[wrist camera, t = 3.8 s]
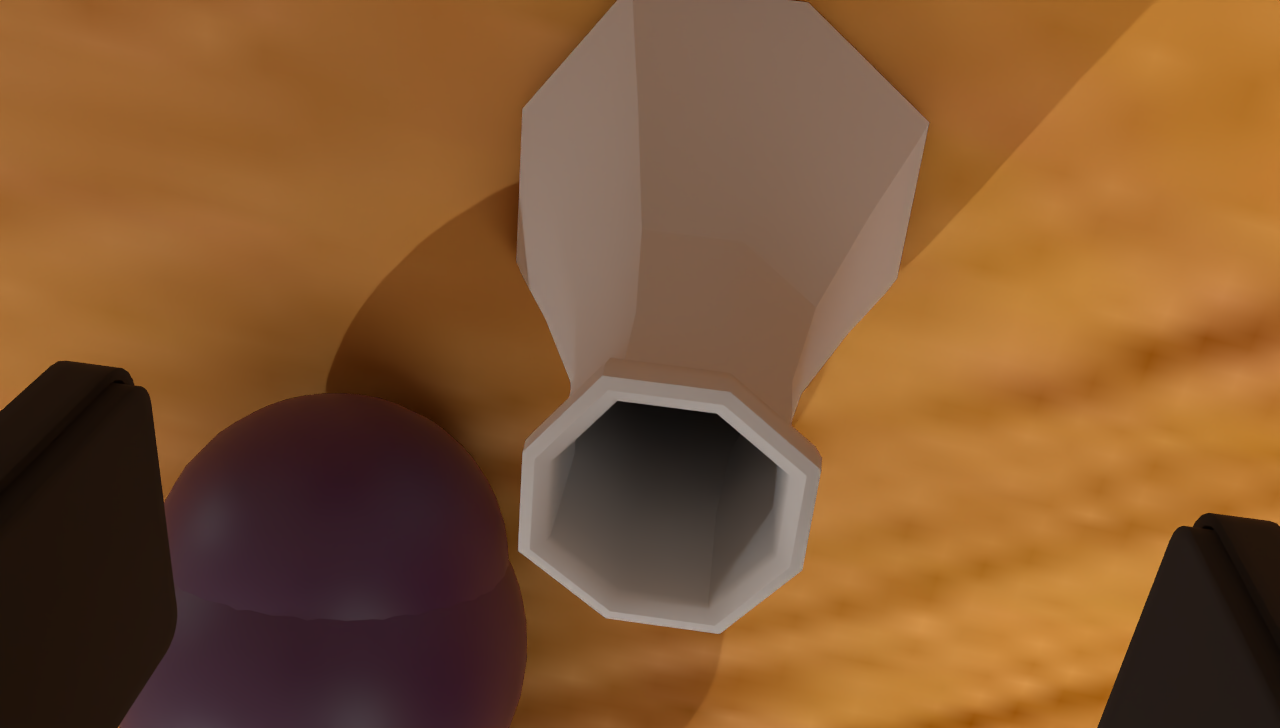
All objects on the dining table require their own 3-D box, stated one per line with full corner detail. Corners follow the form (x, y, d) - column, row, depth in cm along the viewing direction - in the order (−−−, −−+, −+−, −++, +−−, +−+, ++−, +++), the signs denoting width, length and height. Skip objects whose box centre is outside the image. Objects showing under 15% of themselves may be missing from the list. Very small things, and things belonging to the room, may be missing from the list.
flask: (804, 426, 23) (816, 848, 14) (458, 275, 22) (249, 623, 14) (1003, 92, 20) (1178, 378, 11) (605, -98, 19) (452, 45, 10)
